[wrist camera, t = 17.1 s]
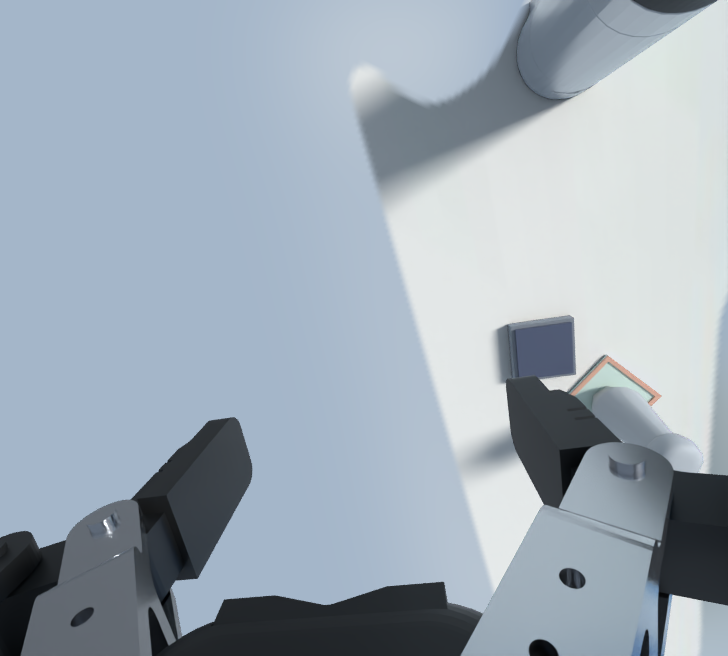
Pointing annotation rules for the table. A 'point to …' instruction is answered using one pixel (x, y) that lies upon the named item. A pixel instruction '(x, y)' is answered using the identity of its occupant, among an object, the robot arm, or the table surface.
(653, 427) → the salt shaker
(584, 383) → the marked square
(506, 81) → the table surface
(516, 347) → the ink pad
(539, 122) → the table surface
